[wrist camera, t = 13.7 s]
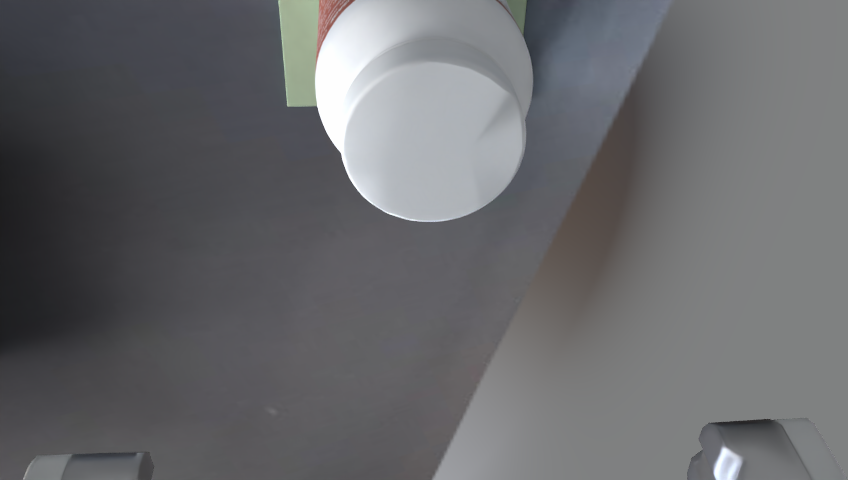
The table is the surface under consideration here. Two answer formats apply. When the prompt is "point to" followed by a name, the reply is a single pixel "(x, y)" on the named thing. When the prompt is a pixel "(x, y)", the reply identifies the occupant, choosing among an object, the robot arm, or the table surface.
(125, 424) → the table surface
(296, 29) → the mat
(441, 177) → the pill bottle
